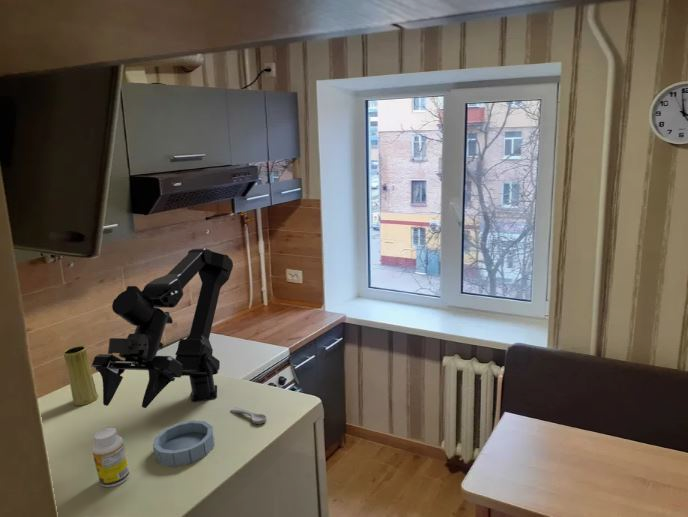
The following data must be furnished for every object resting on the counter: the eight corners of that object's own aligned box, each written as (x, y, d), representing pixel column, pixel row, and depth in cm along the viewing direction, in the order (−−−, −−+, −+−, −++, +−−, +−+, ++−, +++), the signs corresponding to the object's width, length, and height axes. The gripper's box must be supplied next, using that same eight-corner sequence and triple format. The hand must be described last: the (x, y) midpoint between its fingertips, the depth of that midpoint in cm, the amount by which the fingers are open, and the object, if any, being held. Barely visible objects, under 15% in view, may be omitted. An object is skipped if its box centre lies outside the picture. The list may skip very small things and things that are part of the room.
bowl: (159, 439, 115) (157, 427, 115) (215, 428, 118) (212, 416, 117) (152, 471, 104) (149, 458, 103) (213, 458, 106) (211, 445, 106)
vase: (103, 394, 140) (92, 344, 137) (88, 406, 134) (77, 354, 131) (83, 394, 141) (71, 345, 138) (67, 406, 136) (55, 355, 132)
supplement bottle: (102, 474, 104) (91, 429, 102) (131, 467, 106) (121, 422, 104) (98, 491, 99) (86, 444, 97) (129, 483, 101) (118, 436, 98)
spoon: (260, 427, 116) (258, 419, 116) (228, 416, 124) (227, 408, 124) (270, 421, 119) (268, 413, 118) (238, 411, 127) (237, 403, 126)
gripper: (88, 318, 109) (59, 392, 102) (165, 319, 104) (140, 396, 96) (120, 339, 119) (95, 408, 111) (192, 340, 113) (172, 413, 105)
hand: (124, 406), depth 106 cm, fingers open, 9 cm apart
